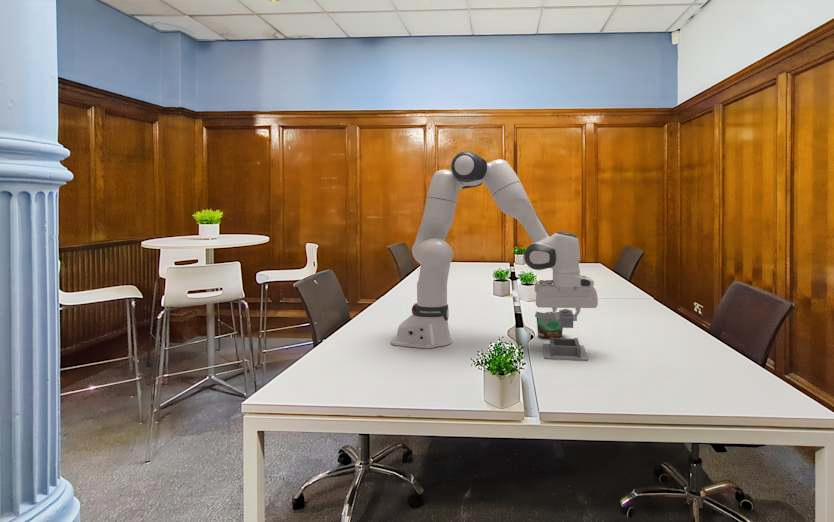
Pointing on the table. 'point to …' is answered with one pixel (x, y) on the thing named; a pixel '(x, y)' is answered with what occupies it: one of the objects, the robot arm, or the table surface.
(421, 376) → the table surface
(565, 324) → the servo
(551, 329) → the food container
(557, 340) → the pocket
